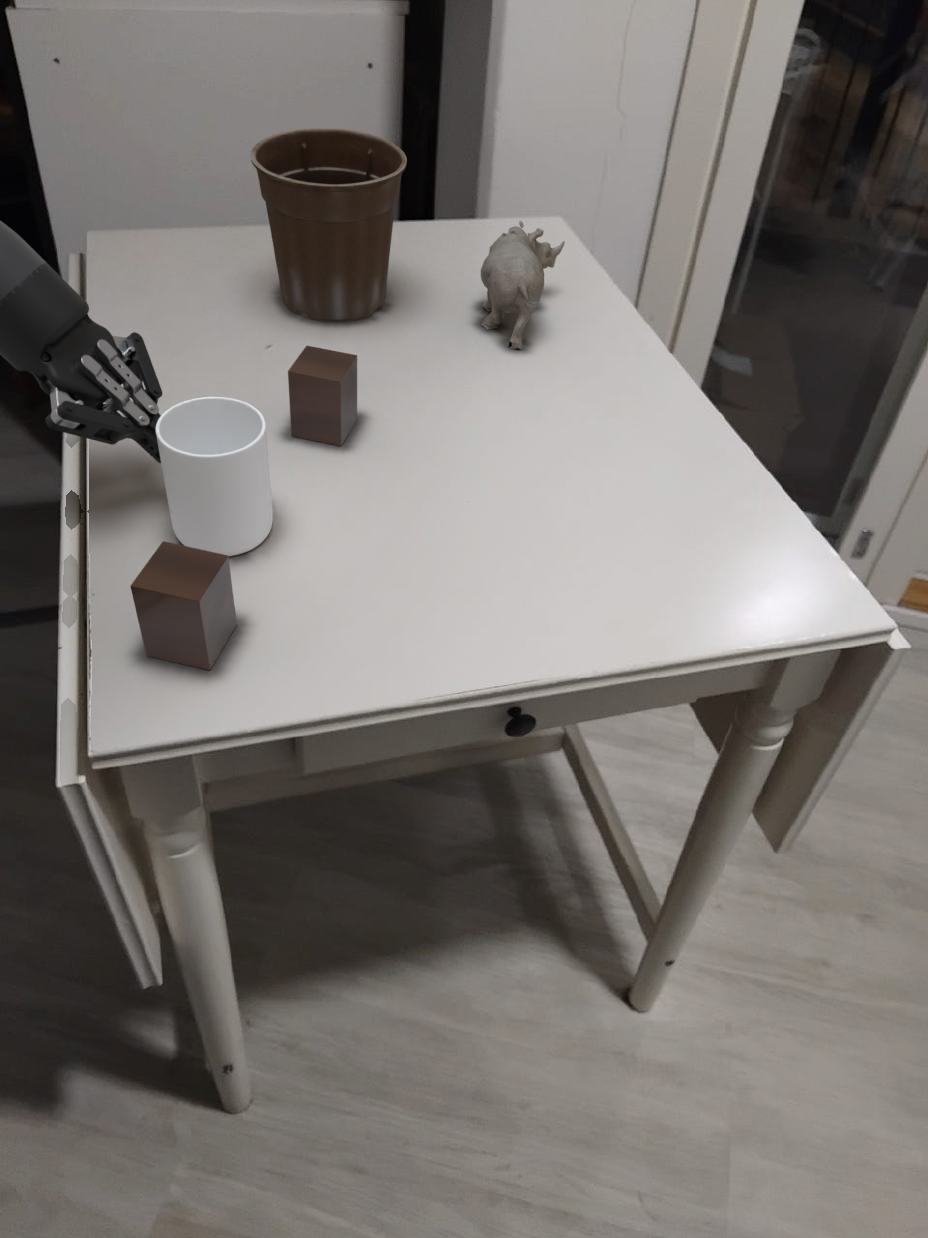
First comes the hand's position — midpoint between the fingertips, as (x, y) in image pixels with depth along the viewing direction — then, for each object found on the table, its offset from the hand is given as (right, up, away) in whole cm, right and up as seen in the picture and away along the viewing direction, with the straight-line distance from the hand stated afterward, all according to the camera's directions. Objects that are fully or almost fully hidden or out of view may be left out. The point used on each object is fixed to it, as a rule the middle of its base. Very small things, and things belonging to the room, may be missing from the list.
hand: (179, 458), depth 79 cm
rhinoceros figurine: (+30, +22, +33) cm, 50 cm away
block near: (+4, -15, -9) cm, 18 cm away
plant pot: (+8, +24, +32) cm, 40 cm away
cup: (+3, -5, +2) cm, 6 cm away
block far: (+10, +5, +13) cm, 17 cm away
